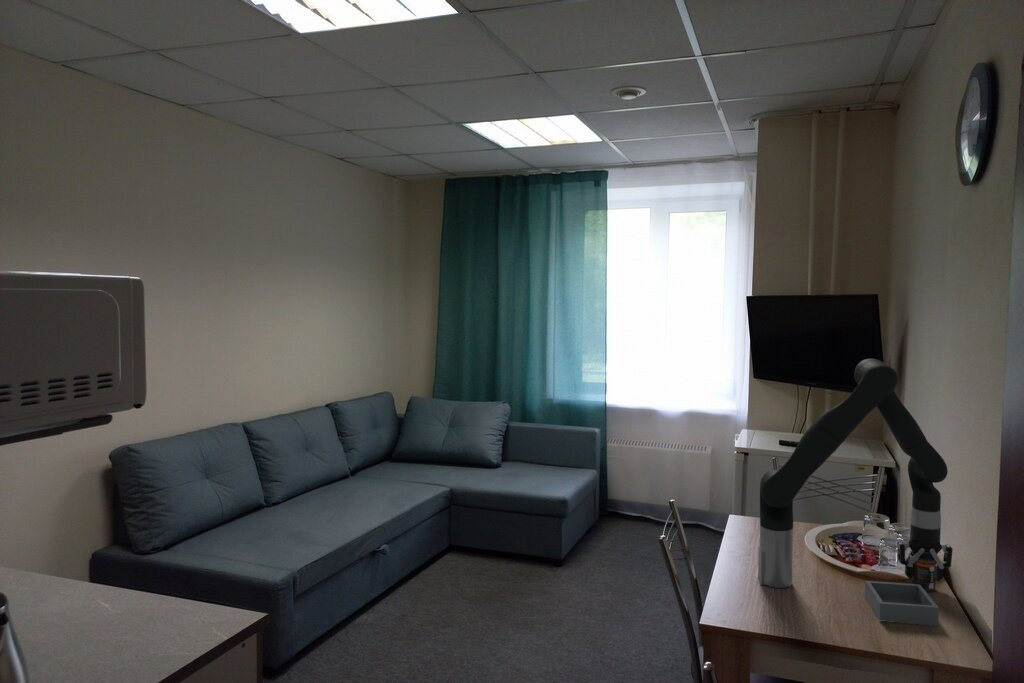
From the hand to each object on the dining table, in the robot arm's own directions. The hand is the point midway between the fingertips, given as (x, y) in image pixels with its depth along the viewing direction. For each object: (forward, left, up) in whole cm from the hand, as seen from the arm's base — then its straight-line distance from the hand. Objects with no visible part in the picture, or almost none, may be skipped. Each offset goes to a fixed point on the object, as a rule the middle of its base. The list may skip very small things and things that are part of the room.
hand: (923, 578), depth 204 cm
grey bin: (-11, -16, -3) cm, 20 cm away
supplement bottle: (0, 0, -3) cm, 3 cm away
